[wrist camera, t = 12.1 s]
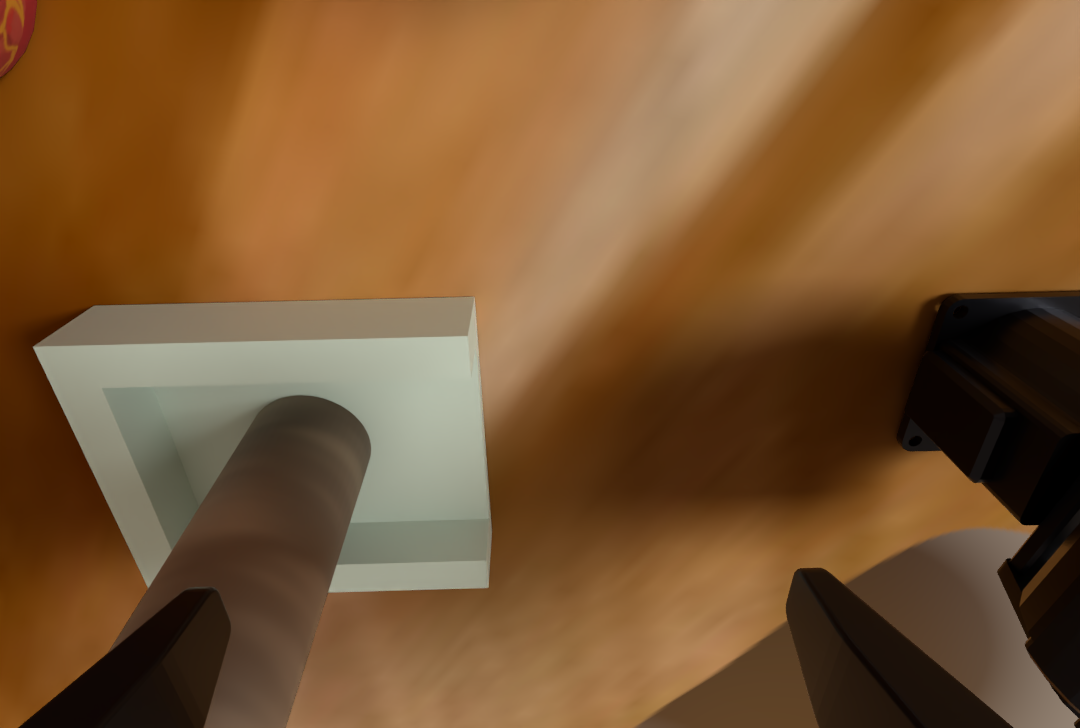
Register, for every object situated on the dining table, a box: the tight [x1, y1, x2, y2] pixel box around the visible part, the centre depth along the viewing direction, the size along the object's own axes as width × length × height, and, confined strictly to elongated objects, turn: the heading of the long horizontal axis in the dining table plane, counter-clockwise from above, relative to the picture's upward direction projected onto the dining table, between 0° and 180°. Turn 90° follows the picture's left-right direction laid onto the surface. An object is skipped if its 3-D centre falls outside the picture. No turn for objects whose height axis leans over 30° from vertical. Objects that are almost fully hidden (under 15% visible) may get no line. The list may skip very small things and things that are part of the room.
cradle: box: [33, 297, 492, 593], centre depth 22 cm, size 13×11×3 cm
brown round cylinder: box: [108, 395, 371, 728], centre depth 17 cm, size 4×4×13 cm
